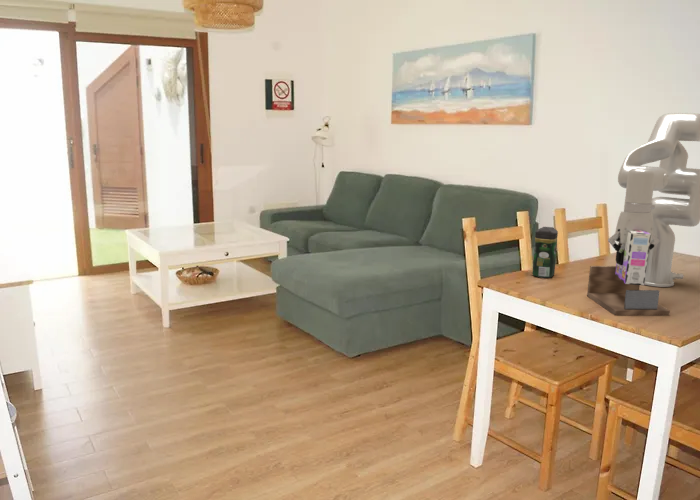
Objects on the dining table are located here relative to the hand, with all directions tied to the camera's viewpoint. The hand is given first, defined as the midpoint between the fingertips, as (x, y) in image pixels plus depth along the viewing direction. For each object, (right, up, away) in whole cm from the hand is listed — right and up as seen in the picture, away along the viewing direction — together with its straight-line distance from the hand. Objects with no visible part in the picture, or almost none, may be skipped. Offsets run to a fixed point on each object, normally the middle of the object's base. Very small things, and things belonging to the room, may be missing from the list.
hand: (630, 263), depth 188 cm
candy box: (0, -5, +1) cm, 5 cm away
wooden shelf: (0, -13, +3) cm, 14 cm away
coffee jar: (-15, -6, +38) cm, 42 cm away
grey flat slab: (0, -14, -6) cm, 15 cm away
